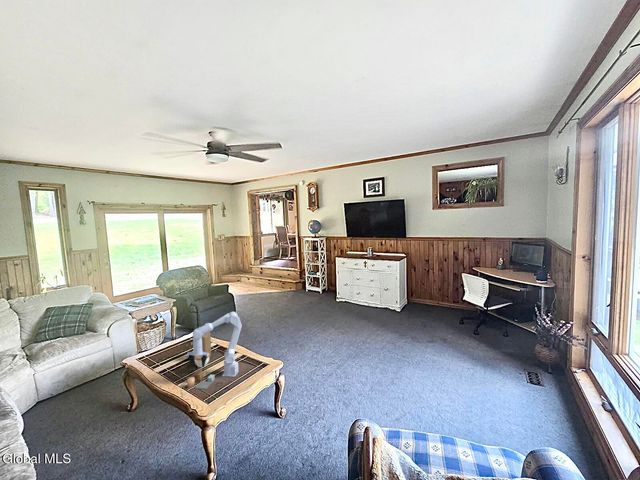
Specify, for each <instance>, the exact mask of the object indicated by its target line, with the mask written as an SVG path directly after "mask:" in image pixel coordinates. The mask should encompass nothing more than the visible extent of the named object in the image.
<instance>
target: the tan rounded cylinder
mask: <svg viewBox="0 0 640 480" xmlns="http://www.w3.org/2000/svg"><path fill="white" fill-rule="evenodd" d="M186 381H187V382H186V383H187V384H186V385H187V388H189V389H191V388H195V387H196V386H195V383H196V382H195V378H194V377H193V376H190V377H188V378H187V379H186Z"/></svg>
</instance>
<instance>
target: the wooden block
mask: <svg viewBox="0 0 640 480" xmlns="http://www.w3.org/2000/svg"><path fill="white" fill-rule="evenodd" d="M211 334H212V333H211V331H210V332H208V333H206V334H205V335H202V351H203V352H206V353H209V354H210V356H209V358H211V355H212V337H211ZM194 362H195V358H194Z"/></svg>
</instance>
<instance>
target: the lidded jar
mask: <svg viewBox="0 0 640 480" xmlns="http://www.w3.org/2000/svg"><path fill="white" fill-rule="evenodd" d="M209 356H210V354H209ZM209 356H208V357H207V359H206V361H205V366H204V367H207V365H208V363H209V361H210V357H211V356H210V357H209ZM202 357H203V356H195V357H194V358H195V361H194V365H196V366H197V367H198V368H203V367H202V360H201V358H202Z"/></svg>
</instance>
